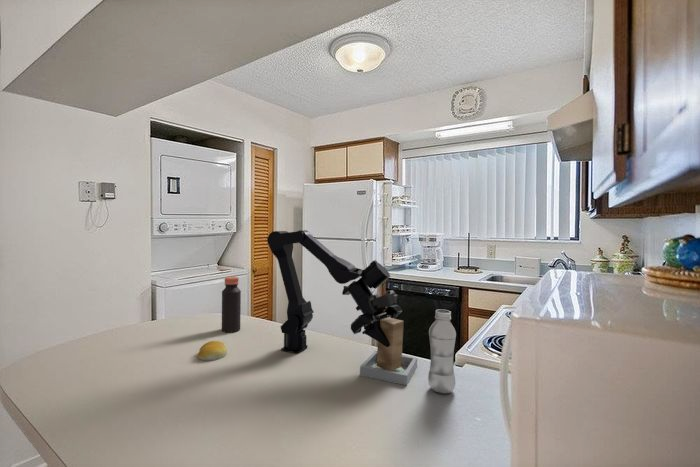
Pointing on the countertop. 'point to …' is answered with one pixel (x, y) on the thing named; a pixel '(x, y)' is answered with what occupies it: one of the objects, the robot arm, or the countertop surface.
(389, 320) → the walnut block
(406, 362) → the walled pen
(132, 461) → the countertop surface
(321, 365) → the countertop surface
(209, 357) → the bread roll
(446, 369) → the plastic bottle
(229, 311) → the vinegar
